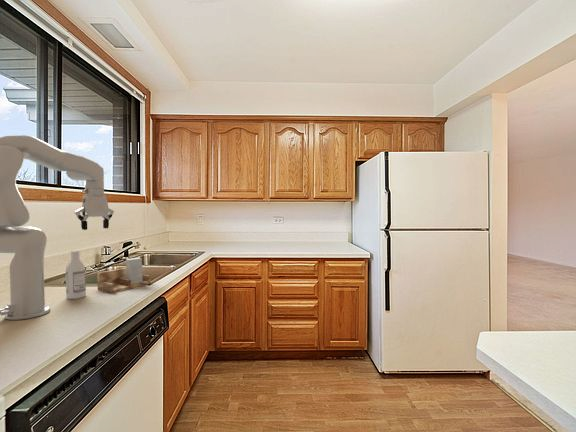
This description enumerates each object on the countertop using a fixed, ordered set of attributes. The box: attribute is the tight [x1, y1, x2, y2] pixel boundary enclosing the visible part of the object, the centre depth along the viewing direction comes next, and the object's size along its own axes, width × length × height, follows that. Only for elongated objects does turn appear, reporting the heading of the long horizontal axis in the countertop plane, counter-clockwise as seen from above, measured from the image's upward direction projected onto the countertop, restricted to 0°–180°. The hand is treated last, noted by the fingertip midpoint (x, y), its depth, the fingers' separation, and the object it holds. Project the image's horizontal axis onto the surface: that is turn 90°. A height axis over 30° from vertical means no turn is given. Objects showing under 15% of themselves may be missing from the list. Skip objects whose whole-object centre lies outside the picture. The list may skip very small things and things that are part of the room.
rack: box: [96, 267, 152, 294], centre depth 153 cm, size 20×11×8 cm, turn 150°
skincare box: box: [125, 257, 143, 284], centre depth 155 cm, size 6×4×12 cm
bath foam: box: [65, 250, 87, 300], centre depth 135 cm, size 7×7×20 cm
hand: (95, 228), depth 148 cm, fingers open, 9 cm apart
